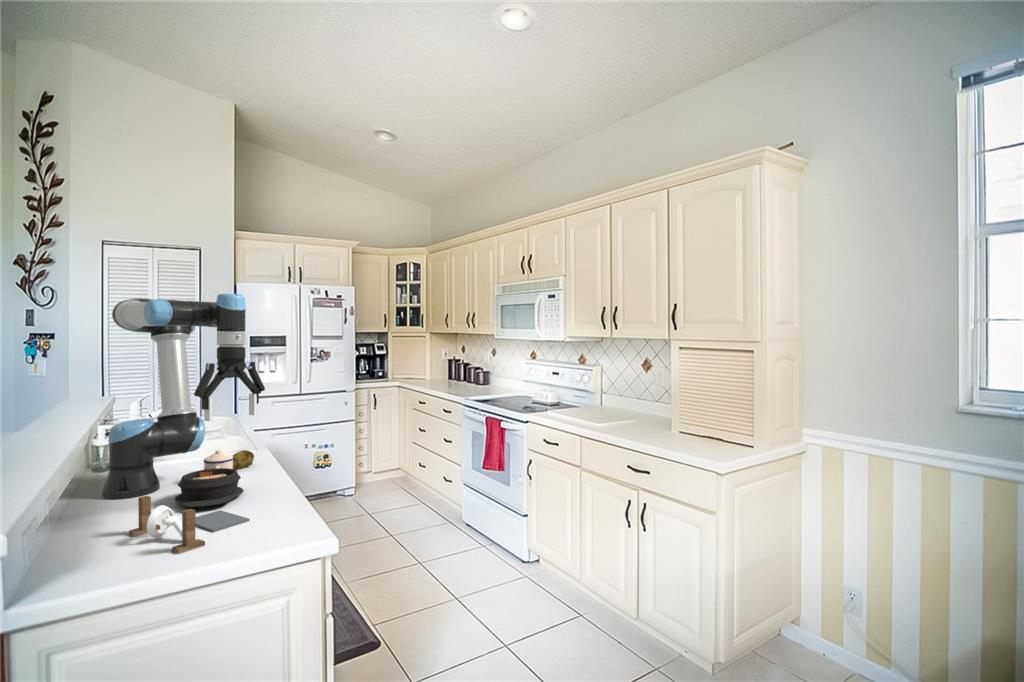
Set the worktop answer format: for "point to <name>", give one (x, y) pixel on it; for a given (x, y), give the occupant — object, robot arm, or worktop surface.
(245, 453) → the potato
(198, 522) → the mat
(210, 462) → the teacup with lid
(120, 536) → the worktop surface
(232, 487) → the casserole
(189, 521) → the rack
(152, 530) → the white vr controller
